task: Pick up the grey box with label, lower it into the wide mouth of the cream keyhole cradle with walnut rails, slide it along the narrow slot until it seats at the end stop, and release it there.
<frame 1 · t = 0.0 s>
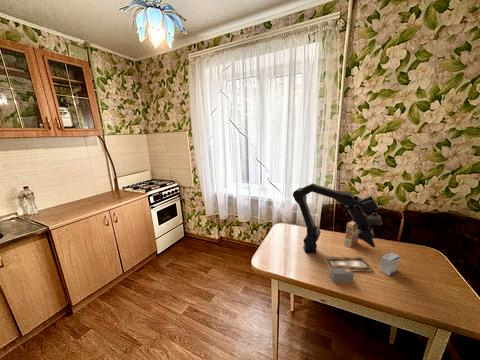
hand: (374, 242, 100), 15 cm above the table, tool tilted 35°, fingers open, 9 cm apart
keyhole cradle: (347, 264, 106), on the table
medicine box: (388, 271, 101), on the table
grey box with label: (341, 279, 96), on the table
candy box: (351, 244, 125), on the table
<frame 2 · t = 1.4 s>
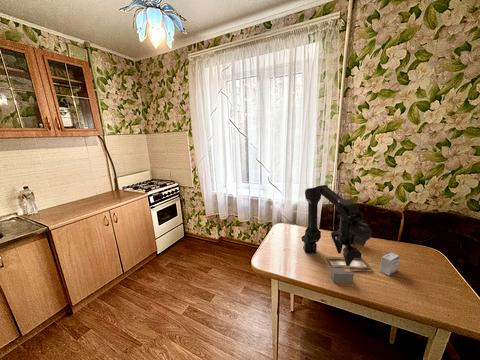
hand: (343, 259, 94), 11 cm above the table, tool pointing down, fingers open, 9 cm apart
nothing on the table moved.
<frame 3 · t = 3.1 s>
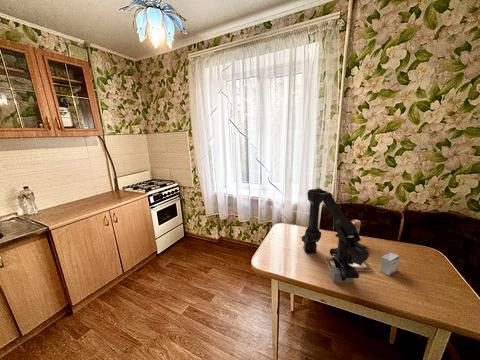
hand: (341, 277, 96), 1 cm above the table, tool pointing down, fingers closed on grey box with label, 4 cm apart
grey box with label: (341, 279, 96), on the table, touching gripper
everything else where it was.
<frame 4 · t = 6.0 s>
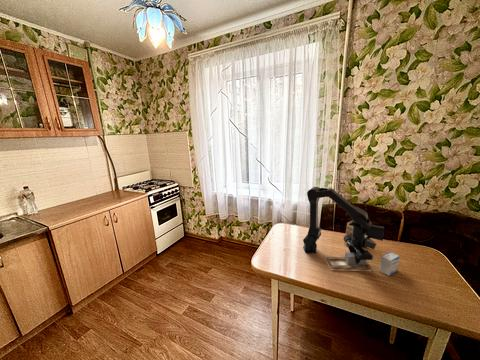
hand: (355, 260, 105), 3 cm above the table, tool pointing down, fingers closed on grey box with label, 4 cm apart
grey box with label: (354, 262, 105), point 1 cm above the table, touching gripper
everything else where it was.
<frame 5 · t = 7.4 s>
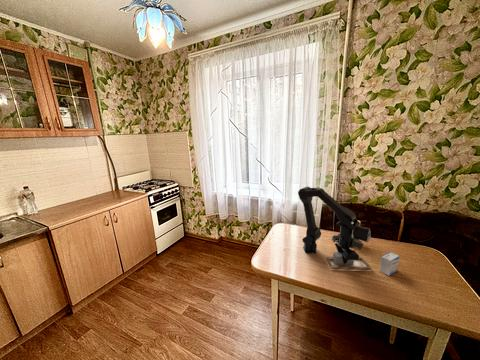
hand: (342, 260, 106), 2 cm above the table, tool pointing down, fingers closed on grey box with label, 4 cm apart
grey box with label: (342, 262, 106), point 1 cm above the table, touching gripper
everything else where it was.
when the fingers open (3 cm above the table, at t = 8.9 s): grey box with label stays where it is, resting on keyhole cradle.
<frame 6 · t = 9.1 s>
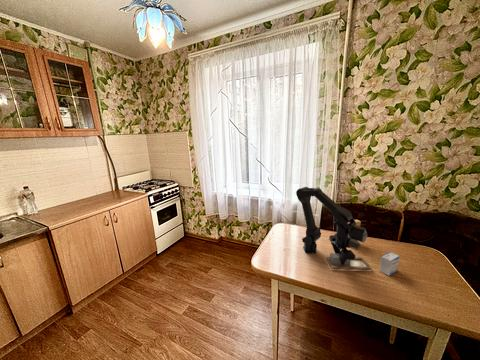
hand: (339, 260, 106), 3 cm above the table, tool pointing down, fingers open, 6 cm apart
grey box with label: (339, 263, 106), point 1 cm above the table, touching keyhole cradle
everything else where it was.
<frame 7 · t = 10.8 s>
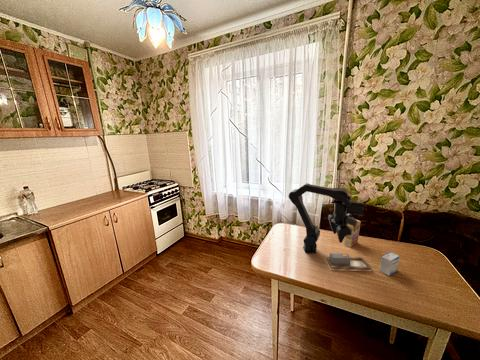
hand: (337, 237, 109), 13 cm above the table, tool pointing down, fingers open, 9 cm apart
nothing on the table moved.
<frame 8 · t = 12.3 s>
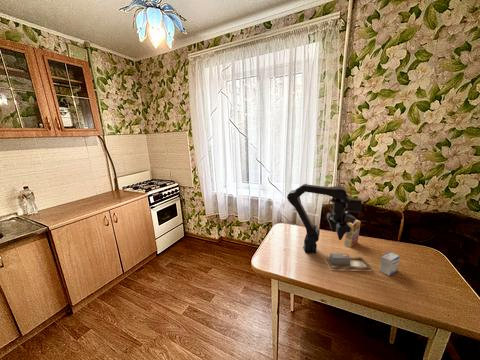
hand: (336, 235, 111), 13 cm above the table, tool pointing down, fingers open, 9 cm apart
nothing on the table moved.
at the end: grey box with label 0.8 cm from the target spot on the keyhole cradle, point 0.6 cm above the keyhole cradle's base; grey box with label tilted 0°; the gripper is holding nothing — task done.
